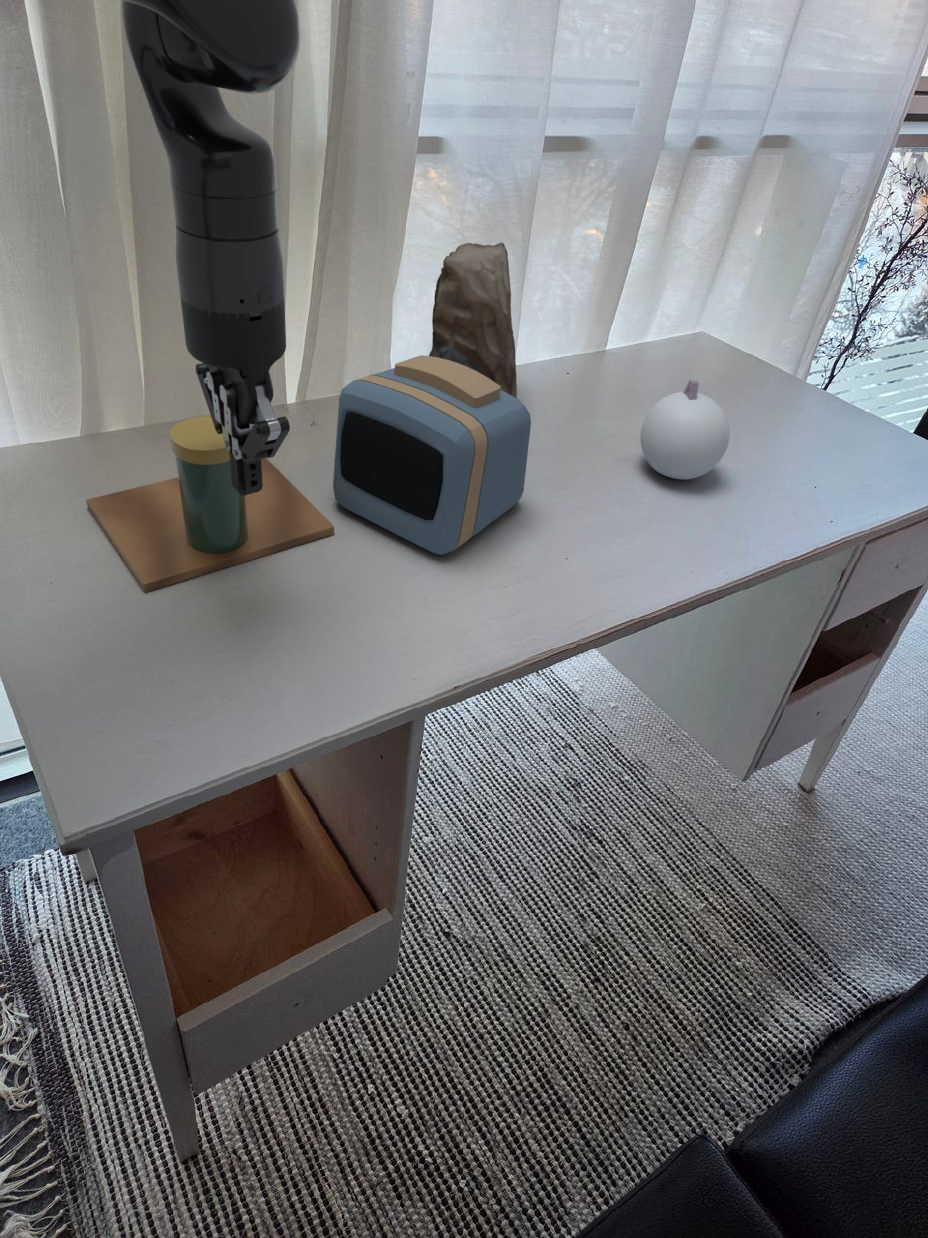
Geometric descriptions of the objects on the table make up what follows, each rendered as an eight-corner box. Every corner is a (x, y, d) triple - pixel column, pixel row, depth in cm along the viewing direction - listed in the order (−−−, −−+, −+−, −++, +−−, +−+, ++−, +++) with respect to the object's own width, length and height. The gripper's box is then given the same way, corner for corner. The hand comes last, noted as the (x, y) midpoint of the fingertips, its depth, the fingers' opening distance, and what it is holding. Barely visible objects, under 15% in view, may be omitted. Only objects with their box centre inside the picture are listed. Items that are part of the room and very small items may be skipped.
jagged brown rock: (421, 426, 108) (434, 266, 95) (414, 382, 117) (424, 231, 104) (517, 430, 110) (542, 273, 97) (502, 387, 119) (524, 239, 106)
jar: (199, 562, 80) (186, 456, 73) (173, 528, 84) (158, 424, 77) (261, 543, 84) (254, 440, 76) (233, 511, 87) (224, 410, 80)
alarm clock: (324, 506, 92) (323, 368, 81) (415, 452, 102) (424, 325, 92) (444, 568, 85) (460, 427, 75) (527, 504, 96) (551, 373, 86)
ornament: (616, 458, 107) (639, 369, 99) (678, 446, 111) (704, 359, 103) (667, 500, 100) (696, 408, 92) (730, 485, 104) (763, 396, 97)
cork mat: (145, 592, 78) (143, 584, 77) (87, 507, 87) (85, 499, 86) (334, 534, 88) (334, 526, 87) (265, 463, 97) (264, 455, 96)
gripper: (149, 265, 64) (176, 464, 75) (221, 330, 56) (240, 540, 68) (241, 255, 68) (254, 446, 79) (321, 315, 60) (322, 516, 71)
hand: (247, 489), depth 73 cm, fingers closed
